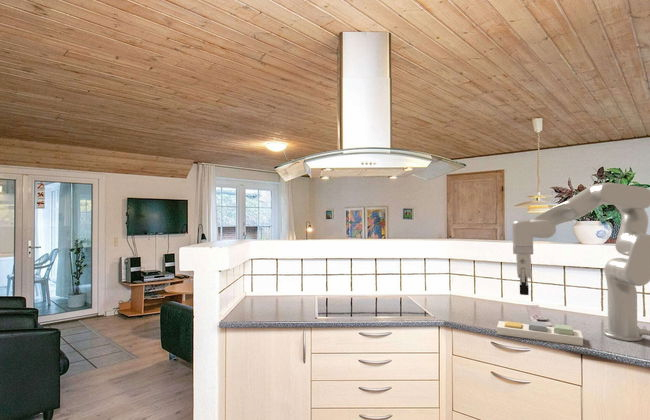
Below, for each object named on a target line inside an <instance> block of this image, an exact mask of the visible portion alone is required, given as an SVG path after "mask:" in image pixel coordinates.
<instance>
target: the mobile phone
mask: <svg viewBox="0 0 650 420" xmlns="http://www.w3.org/2000/svg"><path fill="white" fill-rule="evenodd" d="M525 309H526V311H527V313H528V315H529V320H530V321H533V322H542V323H546V327H553V324H552V323H551V321H550V320H548V319H547V318H546V317H544V316H543V314H542V311H541V307H540V306H539V304H538V305H537V304H525Z"/></svg>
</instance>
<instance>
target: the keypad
mask: <svg viewBox="0 0 650 420" xmlns="http://www.w3.org/2000/svg"><path fill="white" fill-rule="evenodd" d="M505 324H506V321H503V320H498V322H497V326H496V335H499V336H507V337H514V338H515V337H516V338H522V339H528V340H529V339H530V340H537V341H543V342H544V341H545V342H551V343H558V344H560V343H561V344H569V345H575V346H584V337H583V333H582V331H581V330H580V329H573V335H566V334H558V333H555V326H552V327H546V330H547V332H542V331H534V330H530V329H529V324H530V323H529V324H526V323H522V329H518V328H510V327H505Z"/></svg>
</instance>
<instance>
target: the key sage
mask: <svg viewBox="0 0 650 420" xmlns="http://www.w3.org/2000/svg"><path fill="white" fill-rule="evenodd" d="M554 328H555V333H558V334H566V335H573V330H574V328H573V326H572V325H568V324H567V325H566V324H558V323H554Z"/></svg>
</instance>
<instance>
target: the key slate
mask: <svg viewBox="0 0 650 420" xmlns="http://www.w3.org/2000/svg"><path fill="white" fill-rule="evenodd" d="M529 329H530V330H534V331H542V332H547V330H546V323H542V322H533V321H531V320H530V321H529Z"/></svg>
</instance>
